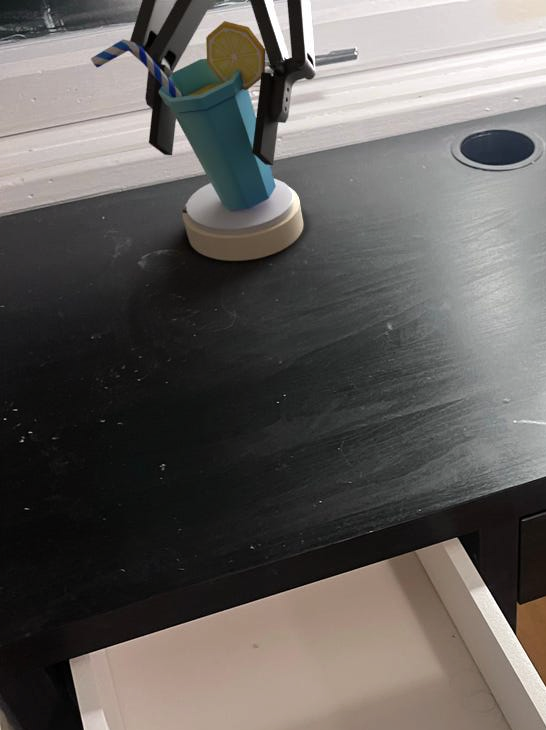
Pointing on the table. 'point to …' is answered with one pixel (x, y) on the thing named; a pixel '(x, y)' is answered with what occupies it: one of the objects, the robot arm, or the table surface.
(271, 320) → the table surface
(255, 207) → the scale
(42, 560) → the table surface
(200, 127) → the cup
